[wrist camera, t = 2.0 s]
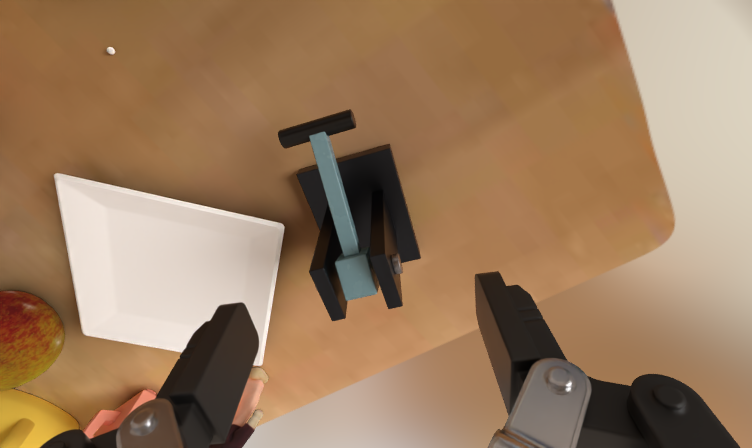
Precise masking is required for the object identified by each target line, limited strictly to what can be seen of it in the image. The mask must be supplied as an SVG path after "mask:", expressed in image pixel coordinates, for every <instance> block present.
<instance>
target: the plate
mask: <svg viewBox="0 0 752 448" xmlns="http://www.w3.org/2000/svg"><path fill="white" fill-rule="evenodd" d="M54 179H55V184H56V190H57V195H58V201H59V207H60V212H61V218H62V223H63V229H64V234H65V240H66V246H67V251H68V257H69V262H70V268H71V273H72V279H73V285H74V290H75V296H76V301H77V307H78V312H79V318H80V324H81V329H82V333H83V334H84V335H86V336H92V337H97V338H103V339H109V340H114V341H120V342H126V343H131V344H137V345H143V346H149V347H154V348H160V349H166V350H171V351H177V352H183V350H184V349H185V348H186V345H187V344H188V342H189V340H190V338H191V337H192V335H193V333H194V332H195V331H196V330H197V329H198V328H200V327H201V326H202V325H203V324H204V323H205V322H206V321H210V320H211V318H212V317H213V315H214V313H215V311H216V309H217V308H218V306H220V305H223V304H231V303H239V302H242V303H244V304H245V305H246V307H247V310H248V312H249V314H250V317H251V319H252V321H253V324H254V326H255V328H256V330H257V333H258V336H259V349H258V353H257V356H256V358H255V361H254V364H253V365H256V366H261V365H262V363H263V357H264V351H265V345H266V339H267V333H268V327H269V320H270V314H271V308H272V302H273V296H274V290H275V283H276V277H277V271H278V265H279V259H280V253H281V247H282V240H283V234H284V228H285V227H284V225H283V224H282V223H279V222H274V221H270V220H265V219H261V218H256V217H252V216H247V215H243V214H239V213H234V212H230V211H225V210H221V209H216V208H212V207H207V206H203V205H199V204H194V203H190V202H185V201H181V200H176V199H172V198H168V197H163V196H159V195H154V194H150V193H145V192H141V191H136V190H132V189H128V188H123V187H119V186H114V185H110V184H105V183H101V182H96V181H92V180H88V179H83V178H79V177H74V176H70V175H65V174H60V173H56V174H55V175H54Z"/></svg>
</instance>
